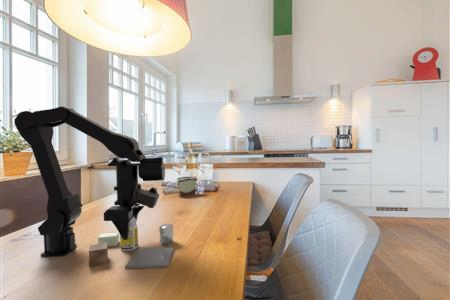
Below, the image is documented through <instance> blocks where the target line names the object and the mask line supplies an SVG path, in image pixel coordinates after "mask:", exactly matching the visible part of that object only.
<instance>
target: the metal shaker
mask: <svg viewBox="0 0 450 300" xmlns="http://www.w3.org/2000/svg"><path fill="white" fill-rule="evenodd" d="M158 228H159V229H158V233H159V235H158V236H159V245H160V246H164V247H165V246H171V245H173V244H174V225H173V224H169V223H165V224H161V225H159V227H158Z"/></svg>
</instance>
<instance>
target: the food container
mask: <svg viewBox="0 0 450 300" xmlns="http://www.w3.org/2000/svg"><path fill="white" fill-rule="evenodd" d="M197 181H198V178H197V176H180V177H178V178H176V182H175V183H176V184H177V191H178V197H179V199H181V198H187V197H192V196H193V197H194V196H196V192H197V190H196V189H197Z"/></svg>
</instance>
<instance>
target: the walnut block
mask: <svg viewBox="0 0 450 300" xmlns="http://www.w3.org/2000/svg"><path fill="white" fill-rule="evenodd" d="M108 247H109V246H108V245H107V243H101V244H98V243H96V244H90V245H89V249H88V267H89V268H91V267H97V266H102V265H103V266H105V265H108V262H109V261H108V260H109V252H108V251H109V250H108V249H109V248H108Z"/></svg>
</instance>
